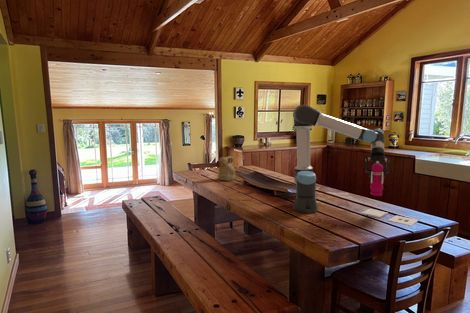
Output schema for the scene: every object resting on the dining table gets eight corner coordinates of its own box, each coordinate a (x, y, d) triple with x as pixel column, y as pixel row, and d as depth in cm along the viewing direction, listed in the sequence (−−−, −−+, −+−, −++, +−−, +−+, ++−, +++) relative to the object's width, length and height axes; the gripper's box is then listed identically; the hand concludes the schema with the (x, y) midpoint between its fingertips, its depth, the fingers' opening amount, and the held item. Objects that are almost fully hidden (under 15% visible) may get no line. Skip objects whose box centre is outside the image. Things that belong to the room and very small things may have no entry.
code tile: (411, 225, 169) (411, 225, 169) (387, 220, 178) (387, 220, 178) (418, 220, 177) (418, 220, 177) (396, 215, 186) (396, 215, 186)
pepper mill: (367, 193, 191) (368, 160, 188) (378, 192, 191) (380, 159, 189) (373, 196, 184) (375, 162, 181) (385, 196, 184) (387, 161, 182)
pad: (380, 218, 181) (380, 216, 181) (361, 214, 189) (361, 212, 189) (387, 214, 189) (387, 212, 189) (369, 210, 197) (369, 208, 197)
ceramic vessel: (213, 180, 289) (213, 152, 286) (226, 176, 305) (226, 150, 302) (228, 182, 279) (228, 154, 276) (241, 178, 295) (241, 151, 292)
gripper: (393, 154, 195) (393, 186, 182) (361, 153, 202) (360, 184, 189) (394, 147, 190) (395, 179, 177) (361, 146, 197) (360, 177, 184)
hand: (377, 182), depth 183 cm, fingers closed on pepper mill, 5 cm apart
